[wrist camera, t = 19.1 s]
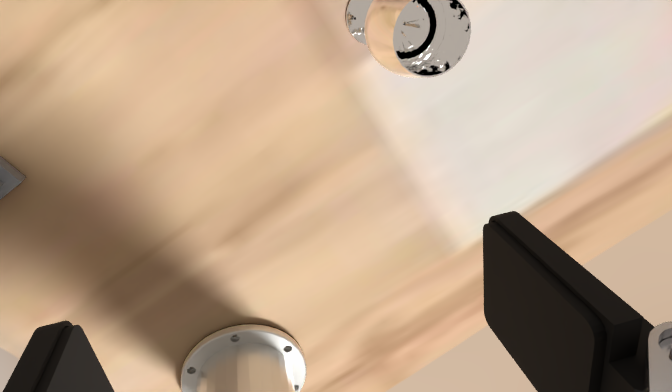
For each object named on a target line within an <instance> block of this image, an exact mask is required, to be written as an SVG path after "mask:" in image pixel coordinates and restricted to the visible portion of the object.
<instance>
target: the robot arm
mask: <svg viewBox="0 0 672 392" xmlns="http://www.w3.org/2000/svg"><path fill="white" fill-rule="evenodd" d="M483 267H484V314H485V318H486V321H487V323H488V325H489V326H490V328H491V329H492V331H493V332H494V333H495V335H496V336H497V337H498V339H499V340H500V341H501V343H502V344H503V345H504V347H505V348H506V350H507V351H508V352H509V354H510V355H511V356H512V358H513V359H514V360H515V362H516V363H517V364H518V366H519V367H520V368H521V370H522V371H523V372H524V374H525V375H526V376H527V378H528V379H529V381H530V382H531V383H532V385H533V386H534V387H535V389H536V390H537V391H538V392H672V322H665V323H662V324H660V325H657V326H656V327H654V326H653V325H651V324H650V323H649V322H648V321H647V320H645V319H644V318H643V316H641V315H640V314H639V313H638V312H637V311H635V310H634V309H633V308H632V307H631V306H629V305H628V304H627V303H626V302H625V301H623V300H622V299H621V298H620V297H618V296H617V295H616V294H615V293H614V292H613V291H611V290H610V289H609V288H608V287H607V286H605V285H604V284H603V283H602V282H601V281H599V280H598V279H596V277H595V276H593V275H592V274H591V273H590V272H589V271H587V270H586V269H585V268H584V267H583V266H581V265H580V264H579V263H578V262H576V261H575V260H574V259H573V258H572V257H570V256H569V255H568V254H567V253H566V252H564V251H563V250H562V249H561V248H560V247H558V246H557V245H556V244H555V243H554V242H552V241H551V240H550V239H549V238H548V237H546V236H545V235H544V234H543V233H542V232H540V231H539V230H538V229H537V228H536V227H534V226H533V225H532V224H531V223H530V222H528V221H527V220H526V219H525V218H524V217H522V216H521V215H520V214H519V213H517V212H516V211H512V212H508V213H503V214H499V215H495V216H492V217H491V218H490V219H489V223H488V224H485V225H484V227H483ZM305 378H306V362H305V358H304V354H303V352H302V350H301V348H300V346H299V345H298V344H297V342H296V341H295V340H294V339H293V338H291V337H290V336H289V335H288V334H286V333H284V332H282V331H280V330H278V329H276V328H272V327H269V326H264V325H256V324H248V325H238V326H232V327H228V328H225V329H222V330H219V331H217V332H215V333H213V334H211V335H209V336H207V337H206V338H204V339H203V340H202V341H200V342H199V343H198V344H197V345H196V346H195V347H194V348H193V349H192V350H191V351H190V353H189V354H188V356H187V358H186V359H185V361H184V364H183V367H182V373H181V390H182V392H300V391H301V389H302V387H303V385H304V382H305ZM3 392H114V390H113V388H112V386H111V384H110V382H109V380H108V378H107V376H106V374H105V372H104V370H103V368H102V366H101V364H100V363H99V361H98V359H97V357H96V355H95V353H94V351H93V349H92V347H91V345H90V343H89V341H88V339H87V337H86V335H85V333H84V331H83V329H82V328H81V327H80V326H79V325H74V326H73V325H72V323H70V322H69V321H62V322H58V323H54V324H50V325H46V326H42V327H39V328H37V329H36V330H35V332H34V333H33V335H32V337H31V339H30V341H29V343H28V345H27V347H26V348H25V350H24V352H23V354H22V356H21V358H20V360H19V362H18V364H17V366H16V368H15V369H14V371H13V373H12V375H11V377H10V379H9V381H8V383H7V385H6V387H5V389H4V390H3Z"/></svg>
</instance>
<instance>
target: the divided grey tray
mask: <svg viewBox="0 0 672 392" xmlns="http://www.w3.org/2000/svg"><path fill="white" fill-rule="evenodd" d="M25 178H26V177H25V176H24V175H23V174H22V173H21V172H19V171H18V170H17V169H16V168H14V167H13V166H12V165H11V164H9V163H8V162H7V161H6V160H4V159H3V158H2V157H1V156H0V200H1V199H2V198H3V197H4V196H5V195H7V194H8V193H9V192H10V191H11V190H13V189H14V188H15V187H16V186H18V185H19V184H20V183H21V182H22V181H23V180H24V179H25Z"/></svg>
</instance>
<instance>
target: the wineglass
mask: <svg viewBox="0 0 672 392" xmlns="http://www.w3.org/2000/svg"><path fill="white" fill-rule="evenodd" d="M346 23H347V27H348V30H349V32H350V33H351V35H352V36H353V37H354V38H355V39H356V40H357V41H358V42H360V43H362V44H364V45H367V46H368V48H369V51H370V53H371V54H372V56H373V57H374V59H375V60H376V61H377V62H378V63H379V64H380V65H381V66H382V67H383V68H385V69H386V70H388V71H390V72H392V73H394V74H396V75H399V76H403V77H409V78H428V77H435V76H438V75H441V74H443V73H445V72H447V71H449V70H450V69H451V68H453V67H454V66H455V65H456V64H457V63H458V62H459V61H460V60H461V58H462V56H463V55H464V53H465V52H466V49H467V46H468V44H469V40H470V34H471V23H470V19H469V15H468V12H467V10H466V8H465V7H464V5H463V3H462V2H461V1H460V0H350V2H349V4H348V7H347V11H346Z"/></svg>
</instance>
